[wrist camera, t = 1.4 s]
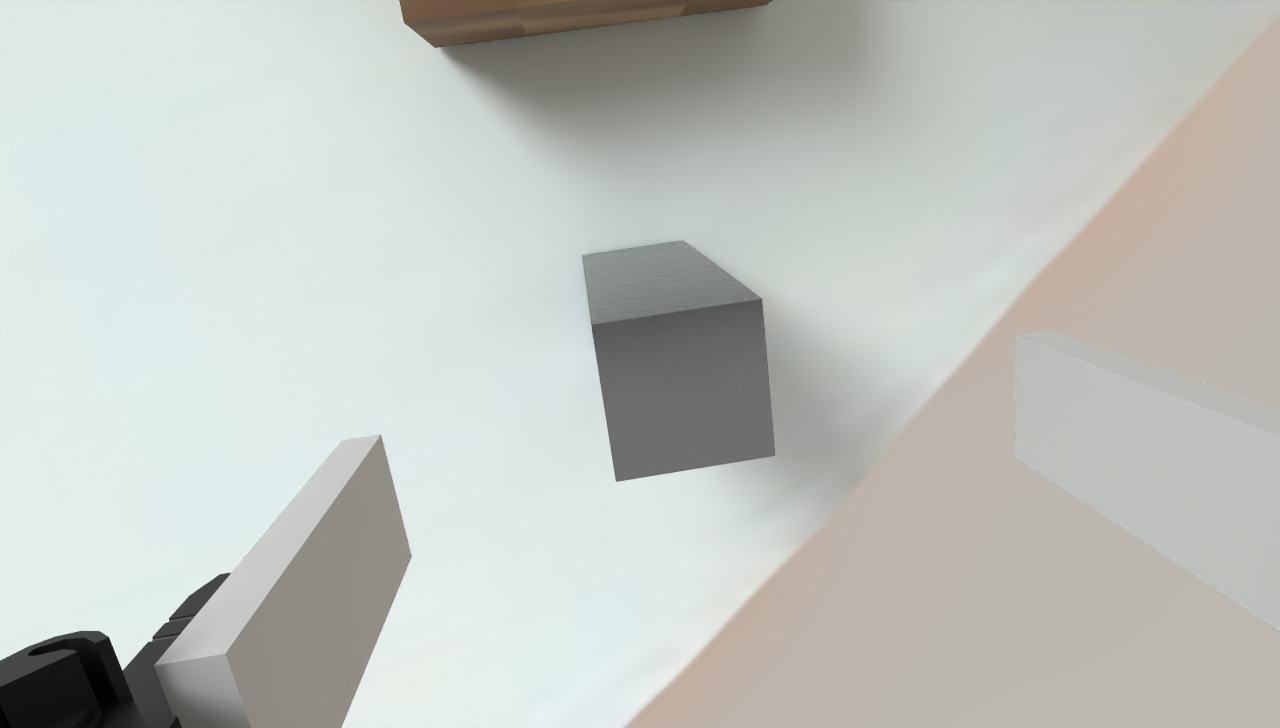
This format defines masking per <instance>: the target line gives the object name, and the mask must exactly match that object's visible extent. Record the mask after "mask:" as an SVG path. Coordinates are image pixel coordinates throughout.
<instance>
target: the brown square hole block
mask: <svg viewBox="0 0 1280 728" xmlns="http://www.w3.org/2000/svg"><path fill="white" fill-rule="evenodd" d="M399 1H400V6H401V10H402V15H403V20H404V23H405V24H406V25H408V26H409V27H410V28H411V29H413V30H414V31H415V32H416V33H418V34H419V35H420V36H421V37H422V38H424V39H425V40H426V41H427V42H429V43H430V44H431V45H432V46H434V47H435V48H438V47H445V46H453V45H461V44H469V43H476V42H484V41H492V40H499V39H507V38H515V37H523V36H530V35H538V34H546V33H554V32H561V31H569V30H577V29H584V28H592V27H600V26H608V25H615V24H623V23H631V22H638V21H646V20H654V19H662V18H669V17H677V16H685V15H693V14H700V13H708V12H716V11H723V10H731V9H739V8H747V7H754V6H762V5H767V4H768V3H769V2H771V1H772V0H399Z"/></svg>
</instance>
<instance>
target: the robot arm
mask: <svg viewBox="0 0 1280 728" xmlns="http://www.w3.org/2000/svg"><path fill="white" fill-rule="evenodd" d="M1015 347H1016V348H1015V415H1014V416H1015V417H1014V457H1015V458H1017V459H1018V460H1020V461H1022V462H1023V463H1025V464H1026V465H1028V466H1029V467H1031V468H1032V469H1034V470H1035V471H1037V472H1038V473H1040V474H1041V475H1043V476H1044V477H1046V478H1047V479H1049V480H1051V481H1052V482H1053V483H1055V484H1057V485H1058V486H1059V487H1061V488H1062V489H1064V490H1065V491H1067V492H1069V493H1070V494H1071V495H1073V496H1075V497H1076V498H1078V499H1079V500H1081V501H1082V502H1084V503H1085V504H1087V505H1088V506H1090V507H1091V508H1093V509H1094V510H1096V511H1097V512H1099V513H1100V514H1102V515H1103V516H1105V517H1106V518H1108V519H1109V520H1111V521H1112V522H1114V523H1116V524H1117V525H1118V526H1120V527H1122V528H1123V529H1125V530H1126V531H1128V532H1129V533H1131V534H1132V535H1134V536H1135V537H1137V538H1138V539H1140V540H1141V541H1143V542H1144V543H1146V544H1147V545H1149V546H1150V547H1152V548H1153V549H1155V550H1156V551H1158V552H1160V553H1161V554H1163V555H1164V556H1166V557H1167V558H1169V559H1170V560H1172V561H1173V562H1175V563H1176V564H1178V565H1179V566H1181V567H1182V568H1184V569H1185V570H1187V571H1188V572H1190V573H1191V574H1193V575H1194V576H1196V577H1197V578H1199V579H1200V580H1202V581H1203V582H1205V583H1206V584H1208V585H1209V586H1211V587H1212V588H1214V589H1215V590H1217V591H1219V592H1220V593H1222V594H1223V595H1225V596H1226V597H1228V598H1229V599H1231V600H1232V601H1234V602H1235V603H1237V604H1238V605H1240V606H1241V607H1243V608H1244V609H1246V610H1247V611H1249V612H1250V613H1252V614H1253V615H1255V616H1256V617H1258V618H1259V619H1261V620H1263V621H1264V622H1266V623H1267V624H1269V625H1270V626H1272V627H1273V628H1275V629H1276V630H1278V631H1279V632H1280V408H1278V407H1275V406H1272V405H1269V404H1266V403H1263V402H1260V401H1257V400H1254V399H1251V398H1248V397H1245V396H1243V395H1240V394H1237V393H1234V392H1231V391H1228V390H1225V389H1222V388H1219V387H1216V386H1214V385H1211V384H1208V383H1204V382H1202V381H1199V380H1196V379H1193V378H1190V377H1187V376H1184V375H1182V374H1179V373H1176V372H1173V371H1170V370H1167V369H1164V368H1161V367H1158V366H1155V365H1152V364H1149V363H1147V362H1144V361H1141V360H1138V359H1135V358H1132V357H1129V356H1126V355H1123V354H1120V353H1118V352H1115V351H1112V350H1108V349H1106V348H1103V347H1100V346H1097V345H1094V344H1091V343H1088V342H1086V341H1083V340H1080V339H1077V338H1074V337H1071V336H1068V335H1065V334H1062V333H1059V332H1056V331H1053V330H1045V331H1039V332H1032V333H1027V334H1019V335H1016V338H1015ZM411 557H412V556H411V552H410V548H409V544H408V540H407V536H406V532H405V528H404V524H403V520H402V516H401V512H400V508H399V504H398V500H397V496H396V492H395V488H394V484H393V480H392V476H391V472H390V468H389V464H388V460H387V457H386V453H385V449H384V445H383V441H382V437H381V435H375V436H369V437H362V438H356V439H350V440H343V441H341V443H340V444H339V445H338V446H337V447H336V449H335V450H334V451H333V452H332V453H331V455H330V456H329V457H328V458H327V459H326V461H325V462H324V463H323V464H322V465H321V467H320V468H319V469H318V470H317V471H316V472H315V474H314V475H313V476H312V477H311V478H310V480H309V481H308V482H307V483H306V484H305V486H304V487H303V488H302V489H301V490H300V492H299V493H298V494H297V495H296V496H295V498H294V499H293V500H292V501H291V502H290V504H289V505H288V506H287V507H286V508H285V510H284V511H283V512H282V513H281V514H280V516H279V517H278V518H277V519H276V520H275V521H274V523H273V524H272V525H271V526H270V527H269V529H268V530H267V531H266V532H265V533H264V535H263V536H262V537H261V538H260V539H259V541H258V542H257V543H256V544H255V545H254V547H253V548H252V549H251V550H250V551H249V553H248V554H247V555H246V556H245V557H244V559H243V560H242V561H241V562H240V563H239V565H238V566H237V567H236V568H235V569H234V570H233V572H232V573H226V574H220V575H218V576H217V577H216V578H214V579H213V580H211V581H210V582H208V583H207V584H206V585H204V586H203V587H201V588H200V589H198V590H197V591H196V592H194V593H193V594H191V595H190V596H189V597H188V598H187V599H186V600H185V601H184V602H183V604H182V605H181V606H180V607H179V608H178V609H177V610H176V611H175V613H174V614H173V615H172V616H171V617H170V618H169V622H168V623H165V624H164V625H163V626H162V627H161V628H160V629H159V630H158V632H157V633H156V634H155V635H154V636H153V637H152V638H153V641H152V642H148V643H147V644H146V645H145V646H144V647H143V648H142V650H141V651H140V652H139V653H138V654H137V655H136V656H135V657H134V659H133V660H132V661H131V662H130V663H129V664H128V665H127V666H126V668H125V669H124V670H123V671H122V669H121V666H120V664H119V661H118V659H117V656H116V654H115V651H114V649H113V646H112V644H111V641H110V639H109V637H108V636H106V635H105V634H103V633H101V632H100V631H79V632H74V633H70V634H65V635H61V636H56V637H53V638H51V639H48V640H45V641H42V642H40V643H37V644H34V645H32V646H29V647H27V648H25V649H23V650H21V651H19V652H17V653H15V654H13V655H11V656H9V657H7V658H5V659H3V660H1V661H0V728H341V727H342V725H343V722H344V720H345V717H346V715H347V712H348V710H349V708H350V705H351V703H352V700H353V698H354V695H355V693H356V691H357V688H358V686H359V683H360V681H361V678H362V676H363V674H364V671H365V669H366V666H367V664H368V661H369V659H370V657H371V654H372V652H373V649H374V647H375V644H376V642H377V639H378V637H379V635H380V632H381V630H382V627H383V625H384V622H385V620H386V618H387V615H388V613H389V610H390V608H391V605H392V603H393V601H394V598H395V596H396V593H397V591H398V588H399V586H400V584H401V581H402V579H403V576H404V574H405V571H406V569H407V567H408V564H409V562H410V559H411Z"/></svg>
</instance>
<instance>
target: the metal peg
mask: <svg viewBox="0 0 1280 728" xmlns="http://www.w3.org/2000/svg"><path fill="white" fill-rule="evenodd" d="M582 258H583V266H584V273H585V281H586V288H587V296H588V303H589V311H590V318H591V325H592V332H593V338H594V344H595V351H596V357H597V364H598V370H599V376H600V383H601V389H602V395H603V402H604V408H605V415H606V421H607V427H608V434H609V440H610V446H611V453H612V459H613V465H614V472H615V478H616V482H618V481H624V480H630V479H636V478H642V477H648V476H654V475H660V474H666V473H673V472H679V471H685V470H691V469H697V468H703V467H709V466H715V465H721V464H727V463H733V462H740V461H746V460H752V459H758V458H764V457H770V456H775V448H774V436H773V424H772V412H771V400H770V389H769V377H768V365H767V353H766V342H765V330H764V318H763V306H762V298H760V297H759V296H757V295H756V294H755V293H753V292H752V291H751V290H749V289H748V288H747V287H745V286H744V285H743V284H741V283H740V282H738V281H737V280H736V279H734V278H733V277H732V276H730V275H729V274H728V273H726V272H725V271H724V270H722V269H721V268H719V267H718V266H717V265H715V264H714V263H713V262H711V261H710V260H709V259H707V258H706V257H705V256H703V255H702V254H700V253H699V252H698V251H696V250H695V249H694V248H692V247H691V246H690V245H688V244H687V243H686V242H684V241H677V242H670V243H663V244H657V245H650V246H643V247H636V248H629V249H623V250H616V251H609V252H602V253H595V254H588V255H582Z"/></svg>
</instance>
